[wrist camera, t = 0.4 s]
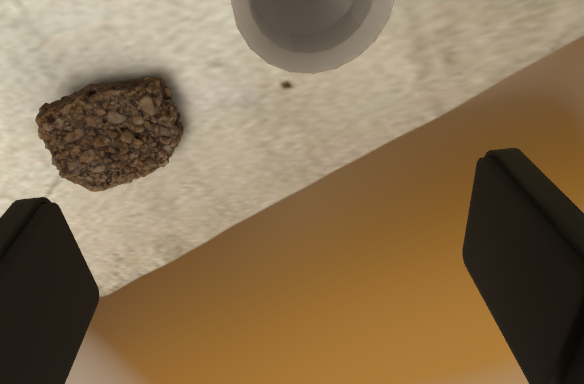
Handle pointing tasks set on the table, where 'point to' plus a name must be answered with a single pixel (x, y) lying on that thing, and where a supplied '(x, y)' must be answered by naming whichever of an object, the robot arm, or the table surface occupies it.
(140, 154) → the concrete sample
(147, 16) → the table surface
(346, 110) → the table surface
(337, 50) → the chalice
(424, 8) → the table surface
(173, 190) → the table surface
